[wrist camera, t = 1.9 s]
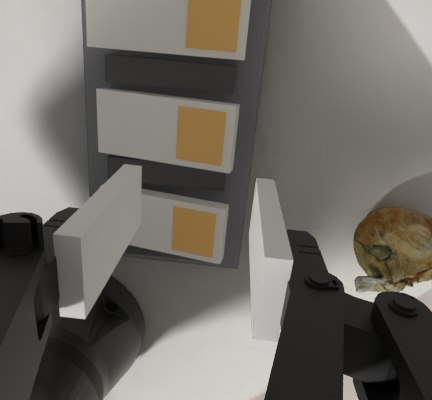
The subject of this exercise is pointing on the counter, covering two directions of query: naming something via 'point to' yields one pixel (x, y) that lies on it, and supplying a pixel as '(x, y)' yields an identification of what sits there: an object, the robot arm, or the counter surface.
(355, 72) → the counter surface
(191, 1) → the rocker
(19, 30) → the counter surface
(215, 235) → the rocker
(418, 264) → the onion
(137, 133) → the block
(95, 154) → the rocker switch panel
